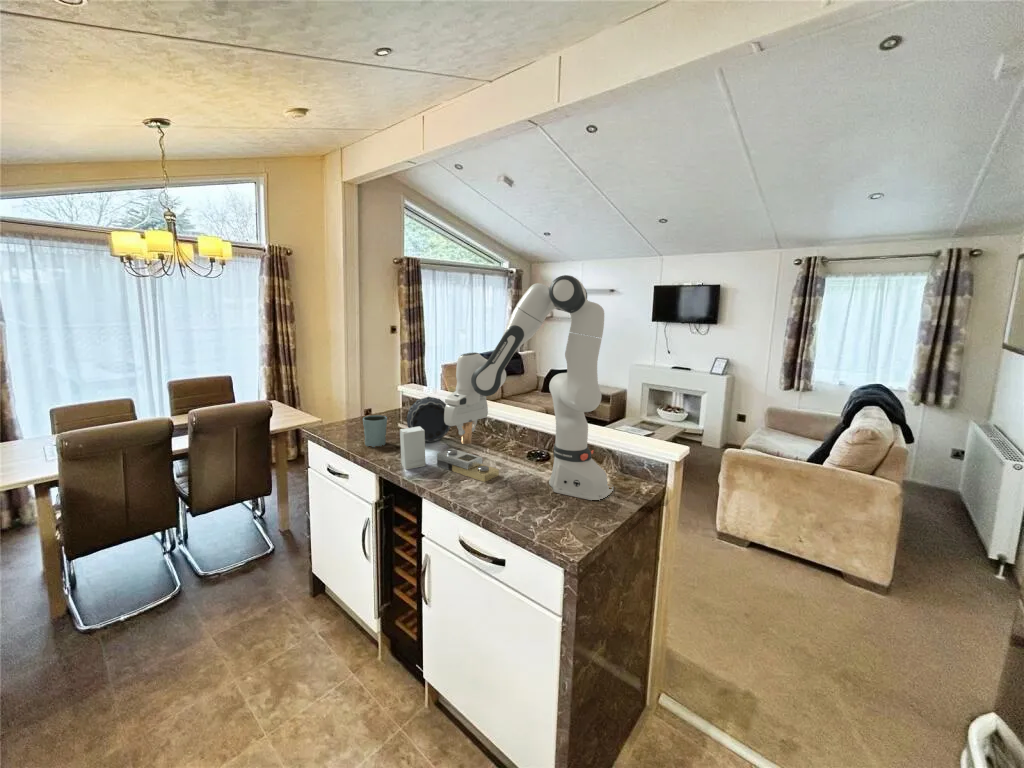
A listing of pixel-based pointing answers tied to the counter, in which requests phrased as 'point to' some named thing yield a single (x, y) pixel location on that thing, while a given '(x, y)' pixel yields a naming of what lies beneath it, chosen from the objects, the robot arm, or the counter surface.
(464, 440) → the pin
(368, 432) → the teal plant pot
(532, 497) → the counter surface
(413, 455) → the skincare box
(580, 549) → the counter surface
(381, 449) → the counter surface
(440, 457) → the chain joint
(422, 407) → the scalloped baking dish
